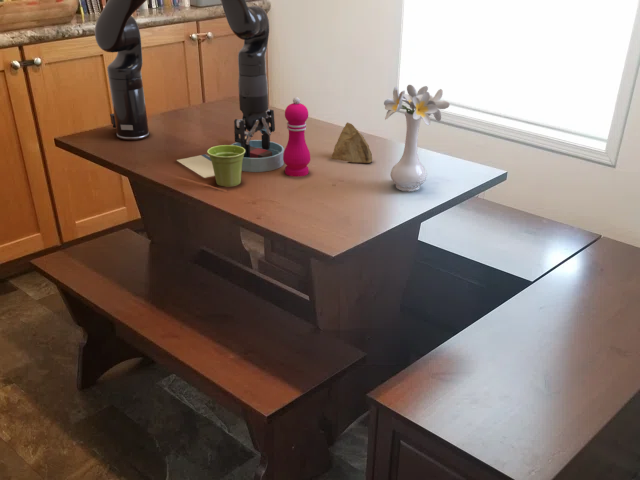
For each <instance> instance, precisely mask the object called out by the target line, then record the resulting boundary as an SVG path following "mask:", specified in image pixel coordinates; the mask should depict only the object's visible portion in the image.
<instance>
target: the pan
mask: <svg viewBox="0 0 640 480" xmlns="http://www.w3.org/2000/svg"><path fill="white" fill-rule="evenodd" d="M249 144H250V146H252V147H256V148H260V149H263V148H262V139H250V142H249ZM230 145H235V146H240V147H241V144H240V143H237V142H233V143H231V144H230ZM264 150H266V149H264ZM284 150H285V147H284V146H283V145H282V144H280V143H278V142H276V141H271V140H270V149H268V151H272V156H270V157H264V158H246V157H243V160H242V172H246V173H264V172H271V171H275V170H277V169H280V168H282V167H283V166H284V164H285V163H284V161H283V154H284Z"/></svg>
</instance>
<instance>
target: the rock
mask: <svg viewBox="0 0 640 480" xmlns="http://www.w3.org/2000/svg"><path fill="white" fill-rule="evenodd" d="M372 153H373V152H372V151H371V149H370V145H369V144H368V142H367V141H366V139H365V137H364V135H363V134H362V133H360V132H359V130H358V128H356V127H355V126H354V124H353V123H350V122H346V123H345V125H344V126H343V128H342V130H341V131H340V134H339V137H338V138H337V141H336V143H335V145H334V147H333V152H332V154H331V159H332V160H333V159H334V160H338V161H344V162H348V163H355V164H356V163H358V164H360V163H363V164H370V163H372V162H373V154H372Z"/></svg>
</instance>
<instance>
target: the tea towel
mask: <svg viewBox="0 0 640 480" xmlns="http://www.w3.org/2000/svg"><path fill="white" fill-rule="evenodd" d="M176 162H178V163H179V164H181V165H183V167H186V168H187V169H189V170H190V171H192V172H193V173H195V174H197V175H198V176H200V177H201V178H203V179H207V178H213V177H215V174H214V169H213V165H212V161H211V159H210V156H209V154H207V153H206V154H200V155H195V156H190V157H186V158H180V159H179V158H178V159H176Z"/></svg>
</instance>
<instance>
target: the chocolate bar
mask: <svg viewBox="0 0 640 480" xmlns="http://www.w3.org/2000/svg"><path fill="white" fill-rule="evenodd" d="M270 156H272V151H268V150H264V149H260V148H256V147H252V146H250V157H249V158H264V157H270Z"/></svg>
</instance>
